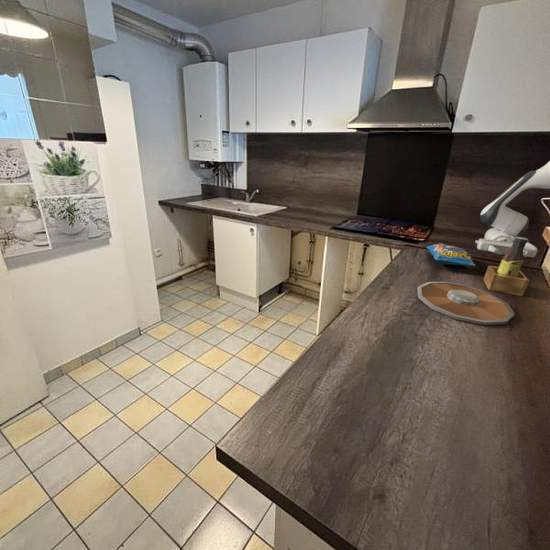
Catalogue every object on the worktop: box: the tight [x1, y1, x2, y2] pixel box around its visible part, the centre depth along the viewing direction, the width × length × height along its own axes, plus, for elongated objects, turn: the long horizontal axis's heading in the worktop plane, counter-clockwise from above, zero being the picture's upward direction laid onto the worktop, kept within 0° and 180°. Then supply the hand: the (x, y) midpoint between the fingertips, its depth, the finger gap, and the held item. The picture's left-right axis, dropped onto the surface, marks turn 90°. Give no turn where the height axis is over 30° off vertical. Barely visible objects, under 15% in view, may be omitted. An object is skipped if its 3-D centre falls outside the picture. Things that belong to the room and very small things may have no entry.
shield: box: [416, 281, 516, 327], centre depth 103 cm, size 30×3×30 cm
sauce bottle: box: [496, 236, 529, 277], centre depth 113 cm, size 7×6×20 cm
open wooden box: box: [483, 265, 530, 297], centre depth 116 cm, size 11×11×7 cm
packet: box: [426, 242, 476, 267], centre depth 139 cm, size 17×24×8 cm
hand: (510, 253), depth 116 cm, fingers open, 8 cm apart
